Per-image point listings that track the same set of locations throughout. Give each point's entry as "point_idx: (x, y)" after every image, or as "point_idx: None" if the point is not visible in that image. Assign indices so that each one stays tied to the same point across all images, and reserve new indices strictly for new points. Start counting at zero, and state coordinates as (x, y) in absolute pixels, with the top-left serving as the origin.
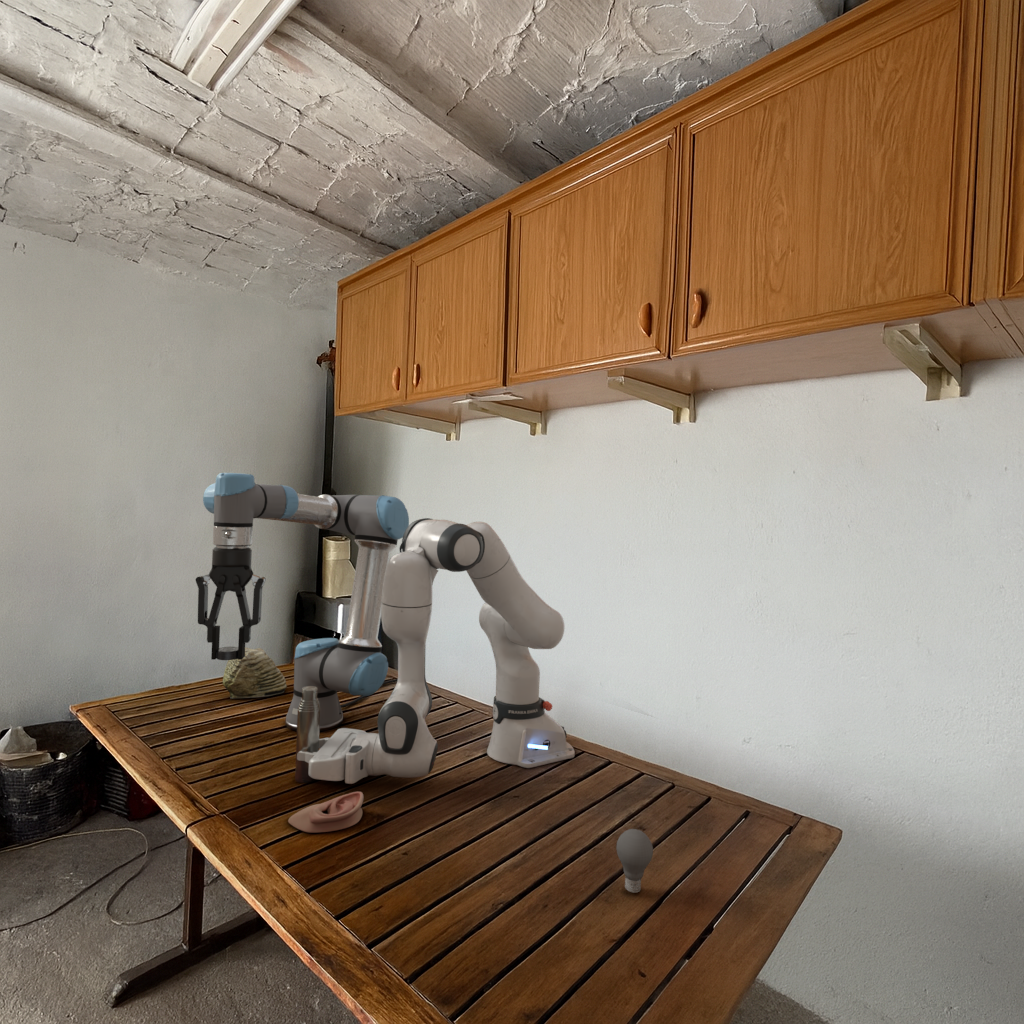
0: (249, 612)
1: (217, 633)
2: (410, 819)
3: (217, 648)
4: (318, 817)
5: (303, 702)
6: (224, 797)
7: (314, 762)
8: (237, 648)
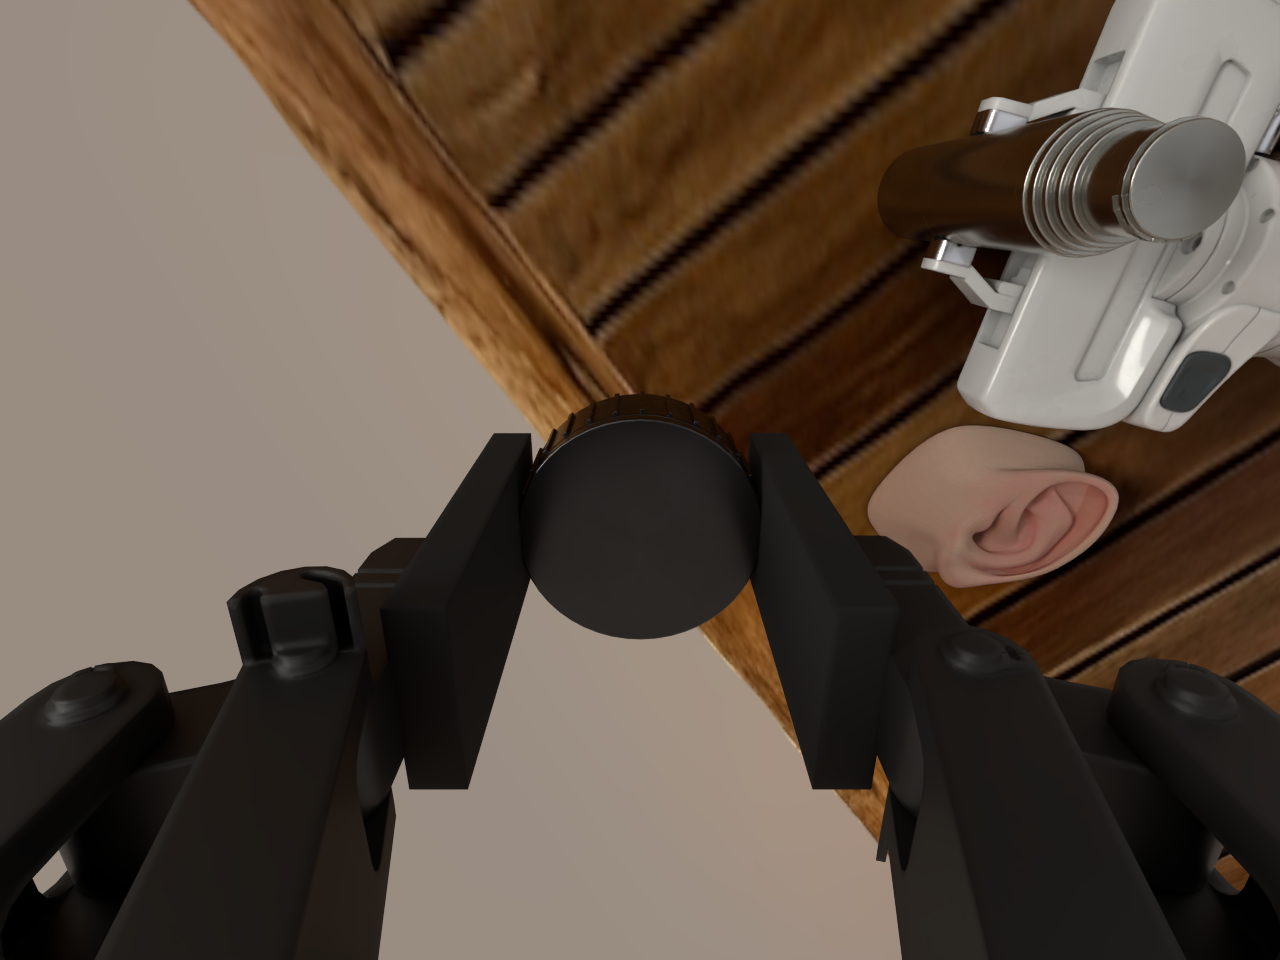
0: (1123, 844)
1: (482, 660)
2: (1208, 518)
3: (518, 529)
4: (963, 583)
5: (1082, 233)
6: (651, 333)
7: (1002, 419)
8: (730, 511)
